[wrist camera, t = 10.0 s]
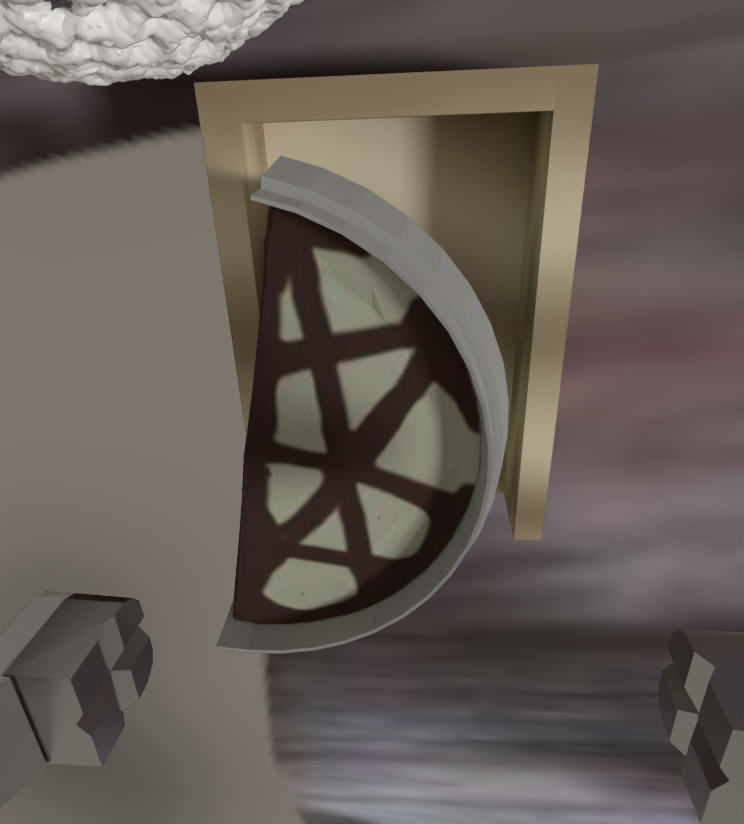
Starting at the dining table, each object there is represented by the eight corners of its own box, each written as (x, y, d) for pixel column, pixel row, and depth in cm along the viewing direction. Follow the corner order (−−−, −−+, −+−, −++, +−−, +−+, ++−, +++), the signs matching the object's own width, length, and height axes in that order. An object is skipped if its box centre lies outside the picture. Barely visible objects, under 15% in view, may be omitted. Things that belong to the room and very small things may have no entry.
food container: (437, 491, 24) (444, 707, 15) (292, 463, 24) (214, 662, 15) (523, 180, 19) (613, 233, 10) (335, 143, 19) (252, 161, 10)
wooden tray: (524, 477, 25) (541, 540, 21) (284, 473, 26) (260, 533, 22) (563, 76, 18) (598, 63, 15) (238, 90, 19) (194, 82, 15)
